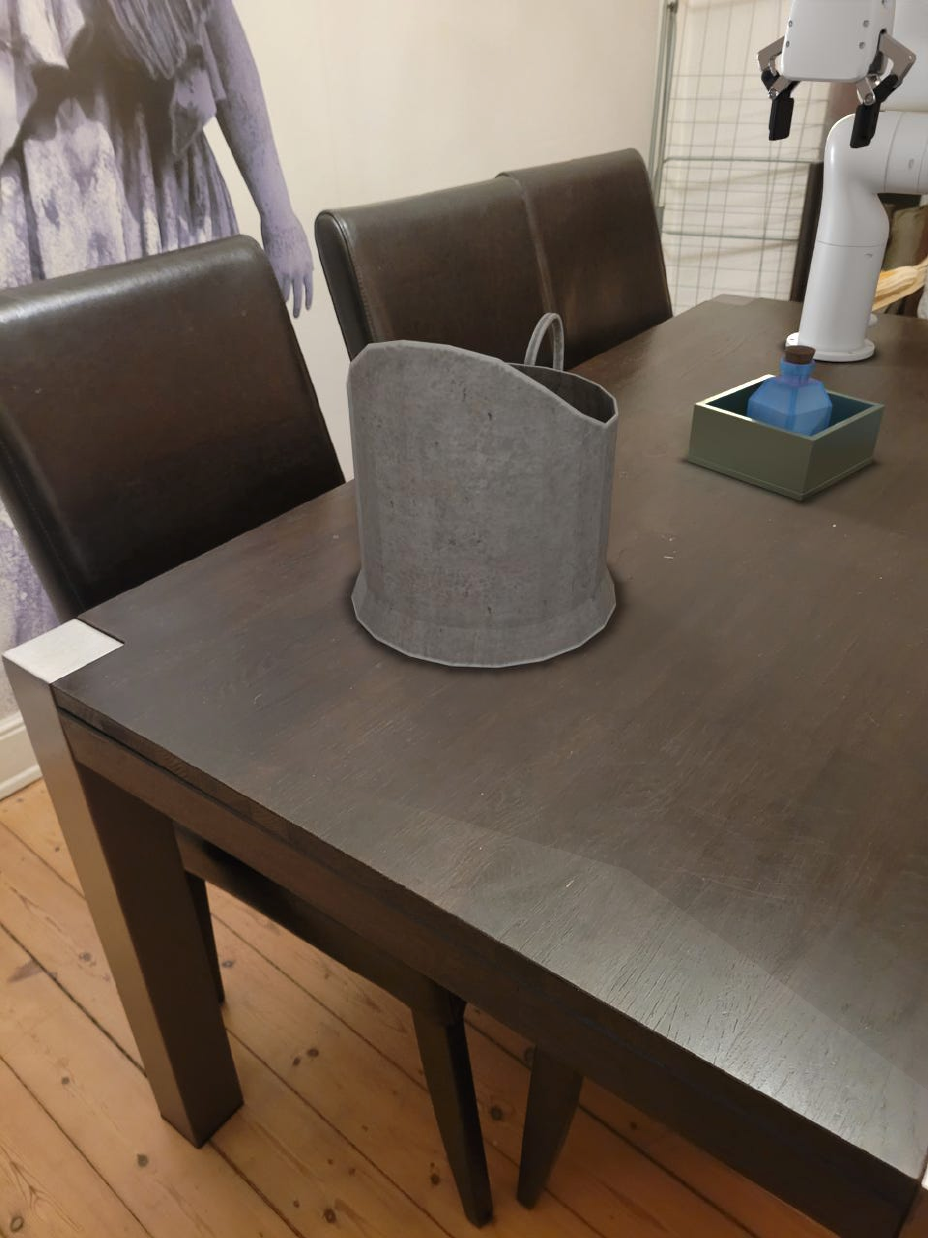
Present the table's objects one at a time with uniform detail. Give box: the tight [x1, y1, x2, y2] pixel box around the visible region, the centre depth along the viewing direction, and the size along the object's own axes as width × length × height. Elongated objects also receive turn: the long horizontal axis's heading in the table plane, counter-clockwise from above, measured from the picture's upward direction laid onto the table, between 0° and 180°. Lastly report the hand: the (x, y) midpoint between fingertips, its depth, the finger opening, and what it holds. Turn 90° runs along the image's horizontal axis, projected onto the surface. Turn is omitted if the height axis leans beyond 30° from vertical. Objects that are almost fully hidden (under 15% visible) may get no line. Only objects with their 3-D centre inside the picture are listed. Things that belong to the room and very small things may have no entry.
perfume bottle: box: [746, 345, 832, 436], centre depth 102 cm, size 6×6×12 cm
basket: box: [686, 374, 886, 502], centre depth 103 cm, size 15×15×7 cm
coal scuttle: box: [345, 312, 619, 669], centre depth 79 cm, size 23×32×25 cm
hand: (817, 142), depth 101 cm, fingers open, 9 cm apart
